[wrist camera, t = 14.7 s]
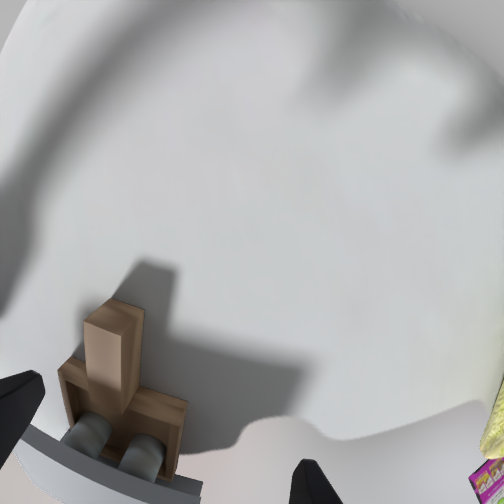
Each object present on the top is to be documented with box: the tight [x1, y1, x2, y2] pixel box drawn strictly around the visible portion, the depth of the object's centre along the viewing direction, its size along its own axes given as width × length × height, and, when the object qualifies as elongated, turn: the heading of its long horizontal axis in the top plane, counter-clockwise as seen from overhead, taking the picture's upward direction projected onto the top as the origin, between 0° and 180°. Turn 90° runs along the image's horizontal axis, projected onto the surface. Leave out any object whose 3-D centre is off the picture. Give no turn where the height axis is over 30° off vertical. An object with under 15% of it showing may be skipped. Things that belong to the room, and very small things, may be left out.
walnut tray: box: [57, 298, 188, 483], centre depth 21 cm, size 12×20×6 cm, turn 166°
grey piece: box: [12, 424, 203, 504], centre depth 21 cm, size 18×12×10 cm
